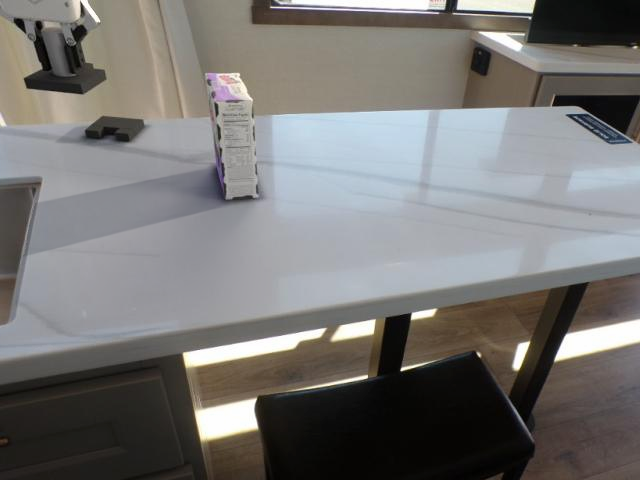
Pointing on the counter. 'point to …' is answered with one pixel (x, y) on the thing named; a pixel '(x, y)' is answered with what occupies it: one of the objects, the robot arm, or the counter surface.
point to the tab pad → (66, 82)
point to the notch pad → (115, 128)
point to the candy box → (233, 134)
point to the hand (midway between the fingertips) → (64, 69)
